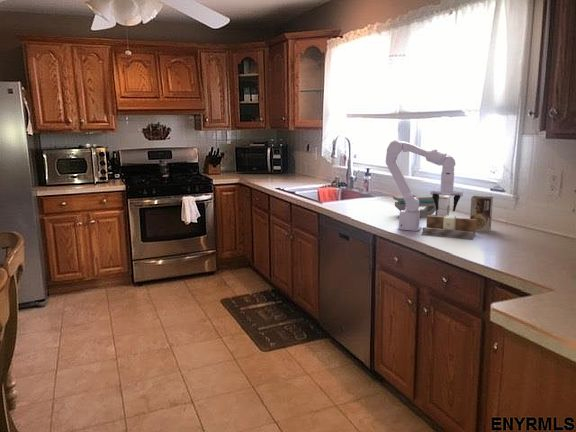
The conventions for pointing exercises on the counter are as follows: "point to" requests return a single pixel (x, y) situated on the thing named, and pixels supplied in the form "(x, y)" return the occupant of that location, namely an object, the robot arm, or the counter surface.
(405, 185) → the robot arm
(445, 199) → the syrup box
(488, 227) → the coffee box
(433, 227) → the cleat board
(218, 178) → the counter surface
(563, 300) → the counter surface
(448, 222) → the cream box
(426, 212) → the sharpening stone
